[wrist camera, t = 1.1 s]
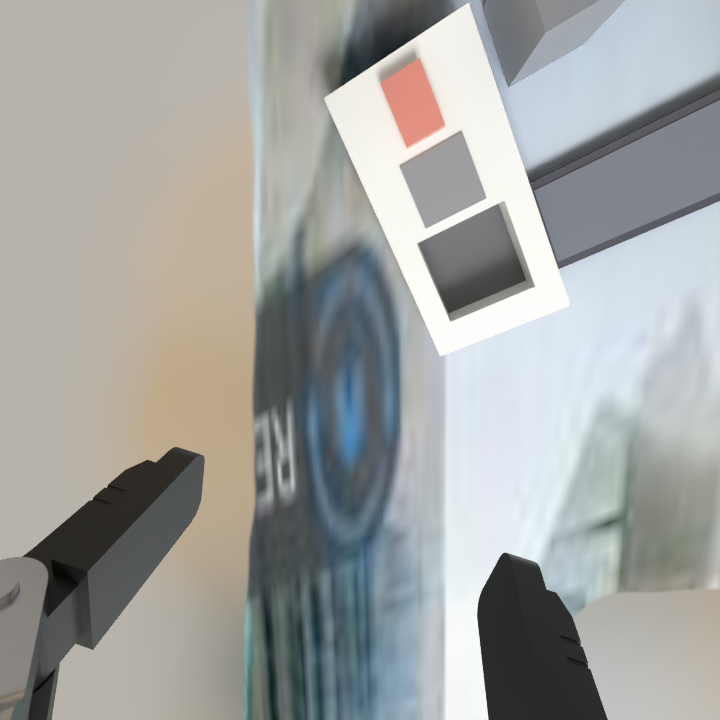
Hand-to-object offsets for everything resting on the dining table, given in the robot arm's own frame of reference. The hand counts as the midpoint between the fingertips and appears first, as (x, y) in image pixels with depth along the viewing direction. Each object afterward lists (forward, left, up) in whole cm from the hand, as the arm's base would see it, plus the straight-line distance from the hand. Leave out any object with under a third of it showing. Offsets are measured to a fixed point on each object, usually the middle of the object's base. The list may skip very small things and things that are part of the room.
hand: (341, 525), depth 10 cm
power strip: (-7, -6, -22) cm, 24 cm away
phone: (-17, -2, -22) cm, 28 cm away
